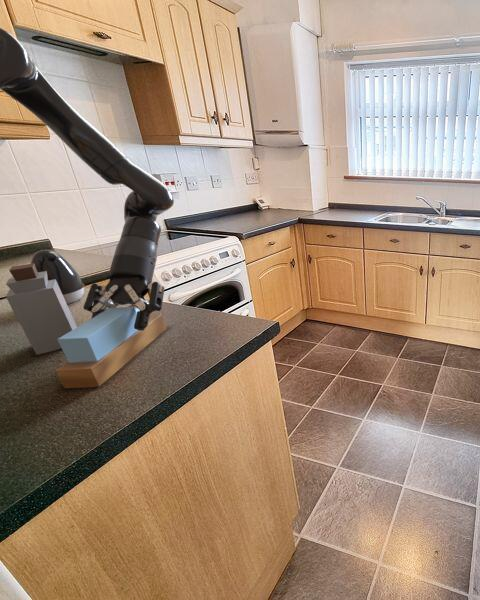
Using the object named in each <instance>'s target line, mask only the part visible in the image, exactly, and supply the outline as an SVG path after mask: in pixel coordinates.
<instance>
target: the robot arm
mask: <svg viewBox="0 0 480 600" xmlns="http://www.w3.org/2000/svg"><path fill="white" fill-rule="evenodd" d="M0 90H1V92H4V93H5V94H6V95H8V96H9V97H11V98H12V99H13V100H15V101H16V102H18V103H19V104H20V105H22V106H23V107H24V108H25V109H27V110H28V111H29V112H31V113H32V114H34V116H35V117H37V118H38V119H39V120H40V121H41V122H42V123H43V124H44V125H46V126H47V127H48V128H49V129H50V130H51V131H52V132H53V133H54V134H55V135H56V136H57V137H58V138H59V139H60V140H61V141H62V142H63V143H64V144H65V145H66V146H67V147H68V148H69V149H70V150H71V151H72V152H73V153H74V154H75V155H76V156H77V157H78V158H79V159H80V160H81V161H82V162H83V163H85V164H86V165H87V166H88V167H89V168H90V169H92V170H93V172H94V173H96V174H97V175H98V176H99V177H100V178H101V179H103V180H104V181H105V182H106V183H108V184H109V185H112V186H118V185H119V186H120V185H123V186H124V187H127V188H128V189H130V190H131V192H129V194H128V195H127V197H126V199H125V202H124V205H123V219H124V224H123V227H122V231H121V234H120V238H119V241H118V242H117V244H116V247H115V251H114V254H113V257H112V261H111V264H110V268H109V272H108V277H109V281H108V283H107V284H105V285H101V284H98V283H94V282H93V283H92V284H91V285H90V287H89V290H88V293H87V296H86V299H85V300H84V303H83V310H85V311H88V312H90V313H91V314H92V315H91V318H90V319H92V318H94V317H95V316H97V315H99V314H100V313H102V312H104V311H105V310H107V309H109V308H118V306H123V305H124V306H125V305H132V304H136V305H137V306H138V308H139V310H140V311H138V312H137V316H136V320H135V324H134V328H135V329H137V330H139V331H143V330H144V329H145V328H146V327H147V325H148V321H149V316H150V315H151V314H152V313H154V312H160V311H162V307H163V302H164V294H165V286H164V285H163V284H161V283H159V281H153V277H154V273H155V268H156V264H157V260H158V251H159V250H158V249H159V245H160V241H161V235H162V228H161V225H160V224H159V223H158V222H157V218H158V217H159V216H160V215H161V214H163V213H165V212H167V211H169V210H171V208H172V207H173V206H174V203H175V200H174V196H173V193H172V192H171V191H170V189H169V187H168V186H166V184H164V183H163V182H162V181H161V180H159V179H158V178H156V177H155V176H153V175H152V174H150V173H149V172H148V171H146V170H145V169H143V168H142V167H140V166H138V165H137V164H135V163H134V162H132V161H131V159H129V158H128V157H127V155H125V153H124V152H122V151H121V149H119V148H118V147H117V146H116V145H115V144H114V143H113V142H112V141H111V140H110V139H109V138H108V137H106V135H105V134H104V133H102V132H101V131H100V130H99V129H98V128H97V127H95V126H94V125H93V124H92V123H91V122H89V121H88V120H87V119H86V118H85V117H84V116H82V115H81V114H80V113H79V112H78V111H77V110H76V109H74V108H73V106H71V105H70V103H69V102H68V101H66V99H64V98H63V97H62V96H61V95H60V93H59V92H58V91H57V90H56V89H55V87H53V86H52V84H51V83H50V82H49V81H48V79H47V78H46V77H45V75H43V73H42V72H41V71H40V69H39V68H38V67H37V66H36V64H35V62H34V59H33V58H32V56H31V55H30V53H28V51H27V49H26V48H25V47H24V46H23V44H22V43H21V42H20V41H19V40H18V39H17V38H16V37H15V36H14V35H13V34H11V33H10V32H9V31H7V30H5V29H3V28H1V27H0ZM152 281H153V282H152ZM148 293H150V294H149V300H148V299H147V298H146V295H147V294H148ZM109 300H111V301H109Z"/></svg>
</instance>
